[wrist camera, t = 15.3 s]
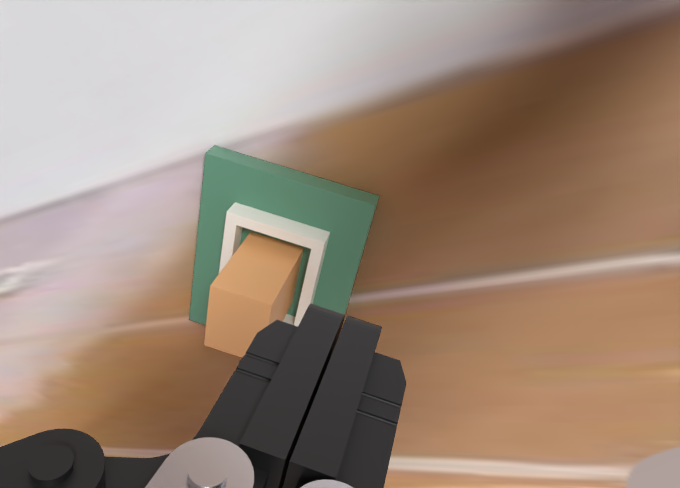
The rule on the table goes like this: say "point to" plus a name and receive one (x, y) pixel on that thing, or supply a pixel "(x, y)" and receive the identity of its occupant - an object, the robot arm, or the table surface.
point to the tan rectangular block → (251, 292)
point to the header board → (280, 227)
